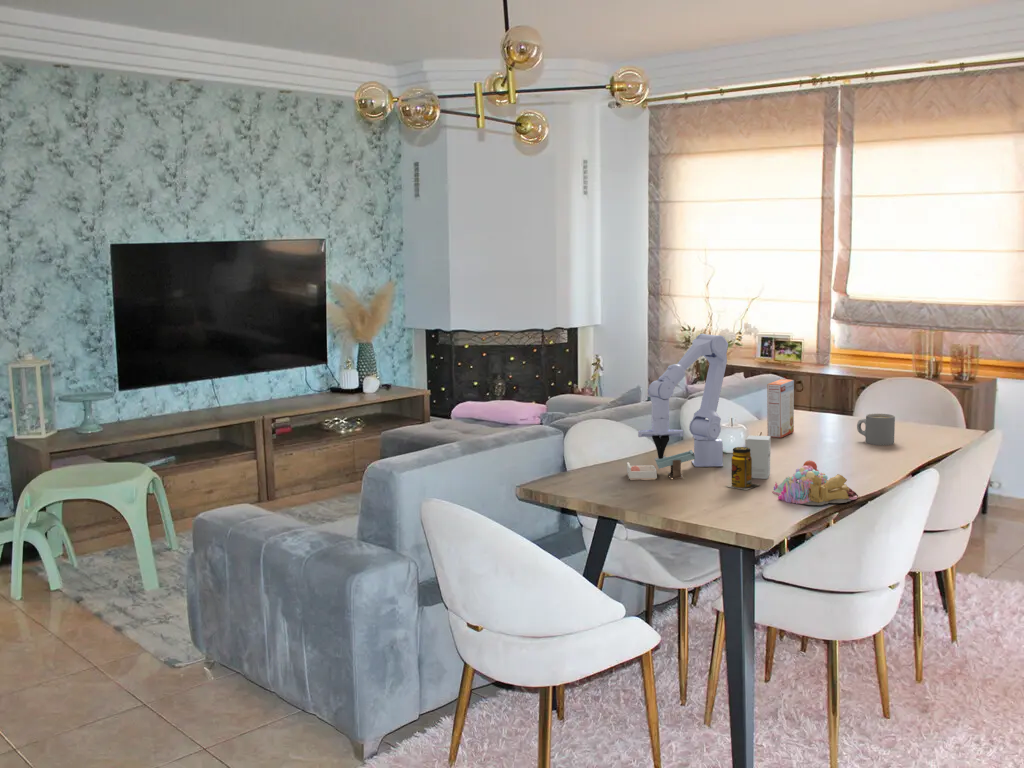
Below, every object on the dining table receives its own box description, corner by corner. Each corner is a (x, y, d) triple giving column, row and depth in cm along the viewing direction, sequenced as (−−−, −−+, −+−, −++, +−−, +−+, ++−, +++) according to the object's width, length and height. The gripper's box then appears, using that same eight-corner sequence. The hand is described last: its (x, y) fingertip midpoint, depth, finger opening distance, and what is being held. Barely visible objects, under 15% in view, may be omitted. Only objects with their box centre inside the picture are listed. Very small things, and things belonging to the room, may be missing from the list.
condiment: (725, 486, 305) (725, 448, 303) (741, 481, 311) (741, 444, 309) (745, 490, 300) (746, 451, 298) (761, 485, 305) (761, 447, 304)
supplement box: (768, 479, 313) (768, 440, 311) (744, 478, 316) (744, 439, 314) (770, 474, 320) (771, 435, 318) (747, 473, 322) (747, 434, 321)
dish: (653, 473, 324) (653, 461, 324) (656, 479, 316) (656, 467, 315) (627, 474, 325) (627, 462, 324) (629, 480, 316) (629, 468, 315)
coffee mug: (899, 442, 365) (900, 415, 363) (884, 446, 359) (884, 419, 357) (867, 437, 375) (867, 411, 374) (851, 441, 369) (852, 414, 368)
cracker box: (779, 431, 392) (780, 378, 390) (794, 432, 389) (795, 379, 386) (765, 437, 381) (766, 383, 378) (781, 438, 378) (781, 384, 375)
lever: (689, 451, 328) (688, 445, 328) (695, 458, 316) (693, 452, 316) (654, 460, 329) (653, 455, 329) (658, 468, 317) (657, 463, 317)
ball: (627, 471, 322) (636, 476, 322) (628, 473, 318) (637, 478, 319) (632, 463, 321) (641, 467, 321) (633, 465, 318) (642, 469, 318)
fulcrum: (680, 473, 324) (680, 455, 323) (683, 479, 316) (683, 460, 315) (667, 473, 324) (667, 455, 323) (670, 479, 316) (670, 461, 315)
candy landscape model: (873, 500, 287) (874, 468, 285) (815, 512, 275) (815, 479, 274) (808, 483, 308) (809, 454, 307) (751, 493, 297) (752, 463, 295)
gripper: (639, 419, 321) (639, 461, 322) (684, 419, 320) (684, 460, 322) (637, 416, 328) (637, 456, 329) (681, 415, 327) (681, 455, 329)
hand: (660, 458), depth 326 cm, fingers closed
